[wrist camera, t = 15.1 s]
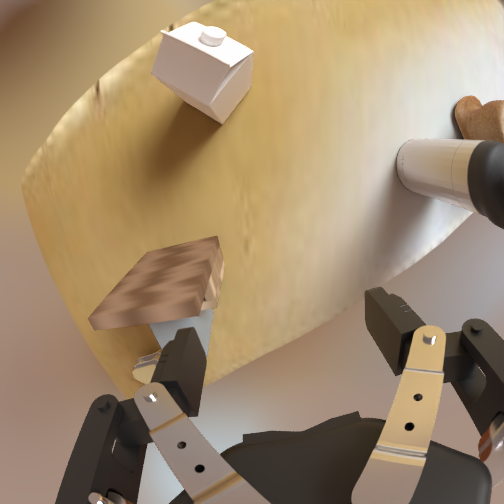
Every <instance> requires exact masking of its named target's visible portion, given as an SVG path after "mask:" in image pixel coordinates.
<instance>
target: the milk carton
mask: <svg viewBox="0 0 504 504" xmlns="http://www.w3.org/2000/svg"><path fill="white" fill-rule="evenodd" d="M160 32H161V33H162V34H163V39H162V41H161V44H160V47H159V50H158V53H157V56H156V59H155V62H154V65H153V68H152V71H151V74H152V75H153V76H154V77H156V78H157V79H158V80H159V81H160V82H162V83H163V84H164V85H165V86H167V87H168V88H169V89H170V90H171V91H173V92H174V93H175V94H176V95H177V96H179V97H180V98H181V99H182V100H183V101H185V102H186V103H188V104H190V105H191V106H193V107H195V108H196V109H198V110H200V111H201V112H203V113H205V114H206V115H208V116H209V117H211V118H213V119H214V120H216V121H217V122H219V123H221V124H224V122H225V121H226V120H227V118H228V117H229V116H230V114H231V113H232V112H233V110H234V109H235V108H236V106H237V105H238V104H239V102H240V101H241V100H242V99H243V97H244V96H245V95H246V94H247V92H248V91H249V90H250V89H251V83H252V68H253V51H252V50H251V49H249V48H247V47H245V46H244V45H242V44H240V43H238V42H236V41H234V40H232V39H231V38H229V37H227V36H226V32H225V31H223V30H222V29H220V28H217V27H212V26H210V27H206V26H204V25H201V24H199V23H197V22H191V23H189V24H186V25H184V26H182V27H180V28H177V29H175V30H173V31H171V32H166V31H164V30H161V31H160Z"/></svg>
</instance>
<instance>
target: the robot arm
mask: <svg viewBox="0 0 504 504" xmlns="http://www.w3.org/2000/svg"><path fill="white" fill-rule="evenodd" d="M396 164H397V172H398V176H399V178H400V180H401V182H402V184H403V185H404V186H405V187H406V188H407V189H409V190H410V191H413V192H415V193H419V194H422V195H425V196H428V197H432V198H435V199H438V200H441V201H444V202H447V203H450V204H453V205H456V206H459V207H462V208H464V209H467V210H470V211H473V212H476V213H478V214H481V215H484V216H486V217H488V219H489V220H490V221H491V222H492V223H494V224H495V225H497V226H498V227H500V228H502V229H504V144H503V143H501V142H497V141H486V140H464V139H412V140H409V141H407V142H406V143H404V145H403V146H402V147H401V148H400V150H399V153H398V156H397V162H396ZM365 321H366V326H367V329H368V331H369V332H370V334H371V336H372V337H373V339H374V341H375V342H376V344H377V346H378V347H379V349H380V351H381V352H382V354H383V356H384V357H385V359H386V361H387V362H388V364H389V366H390V367H391V369H392V371H393V373H394V374H395V376H397V375H400V374H402V377H401V380H400V383H399V387H398V390H397V393H396V396H395V399H394V402H393V405H392V407H391V410H390V413H389V416H388V418H387V421H386V420H382V419H376V418H361V417H360V415H359V412H358V411H357V412H353V413H350V414H346V415H343V416H339V417H336V418H332V419H329V420H327V421H325V422H323V423H321V424H318V425H316V426H314V427H312V428H310V429H307V430H305V431H301V432H291V431H290V432H289V431H267V432H260V433H251V434H243V442H242V443H239V444H236V445H234V446H232V447H230V448H229V449H227V450H225V451H224V452H222V453H221V454H220V455H219V453H218V452H217V451H216V450H215V449H214V448H213V447H212V446H211V445H210V443H209V442H208V441H207V440H206V439H205V438H204V437H203V435H202V434H201V433H200V432H199V430H198V429H197V428H196V427H195V425H194V424H193V423H192V422H191V421H190V419H189V417H196V416H198V412H199V406H200V400H201V394H202V388H203V382H204V376H205V370H206V363H207V361H206V354H205V351H204V349H203V346H202V344H201V342H200V339H199V337H198V334H197V332H196V330H195V328H194V327H189V328H182V329H178V330H177V332H176V335H175V338H174V340H170V341H169V342H168V343H167V344H166V345H165V346H164V347H163V349H162V352H161V355H160V357H159V360H158V363H157V365H156V368H155V371H154V373H153V376H152V379H151V381H150V383H148V384H146V385H144V386H142V387H141V388H139V389H138V390H137V392H136V394H135V396H134V398H132V399H128V400H124V401H121V402H119V401H118V400H117V399H116V397H115V396H113V395H110V394H107V395H102V396H100V397H98V398H97V399H96V400H95V401H94V402H93V403H92V405H91V407H90V409H89V412H88V414H87V416H86V418H85V421H84V423H83V426H82V428H81V431H80V433H79V436H78V438H77V441H76V443H75V446H74V449H73V451H72V454H71V457H70V459H69V462H68V465H67V468H66V471H65V474H64V477H63V480H62V483H61V486H60V489H59V492H58V496H57V499H56V503H55V504H137V498H138V493H139V487H140V481H141V475H142V470H143V464H144V459H145V453H146V448H147V444H148V443H151V442H154V443H155V445H156V446H157V448H158V450H159V451H160V453H161V454H162V456H163V458H164V459H165V461H166V462H167V464H168V466H169V467H170V469H171V470H172V472H173V473H174V475H175V476H176V478H177V479H178V481H179V482H180V483H181V485H182V486H183V488H184V490H183V491H182V492H181V493H180V494H179V495H178V496H177V497H176V498H175V499H173V500H172V501H171V502H170V503H169V504H490V498H491V492H492V488H494V487H495V486H497V485H498V484H500V483H501V482H502V481H504V340H503V339H502V338H501V337H500V336H499V335H498V334H497V333H496V332H495V331H494V329H493V328H492V327H491V326H490V325H489V324H488V323H486V322H485V321H483V320H480V319H470V320H467V321H466V322H465V323H464V324H463V326H462V330H461V331H459V332H453V333H445V332H444V331H443V330H442V329H441V328H439V327H436V326H433V325H426V324H425V323H424V322H423V321H422V320H421V318H420V317H419V316H418V315H417V314H416V313H415V312H414V311H413V310H412V309H411V308H410V307H409V306H408V305H407V303H406V302H405V301H404V300H403V299H402V298H401V297H398V296H396V295H394V294H390V295H388V294H387V293H386V292H385V290H384V289H383V288H382V287H377V288H373V289H370V290H366V291H365ZM478 367H480V369H481V370H482V371H483V373H484V374H485V376H486V377H485V376H484V374H483V373H482V372H481V370H480V369H479V368H478ZM447 382H451V384H452V386H453V387H454V389H455V391H456V392H457V394H458V396H459V397H460V399H461V401H462V402H463V404H464V406H465V408H466V409H467V411H468V413H469V414H470V416H471V418H472V420H473V422H474V424H475V426H476V428H477V429H478V431H479V433H480V435H481V439H480V440H479V444H478V451H479V458H480V459H478V458H476V457H473V456H471V455H468V454H465V453H462V452H460V451H457V450H454V449H451V448H449V447H446V446H444V445H441V444H439V443H437V442H434V441H431V436H432V432H433V428H434V424H435V420H436V416H437V411H438V406H439V401H440V396H441V390H442V384H443V383H447ZM115 440H116V443H115V446H114V450H113V453H112V448H113V444H114V441H115Z"/></svg>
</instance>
